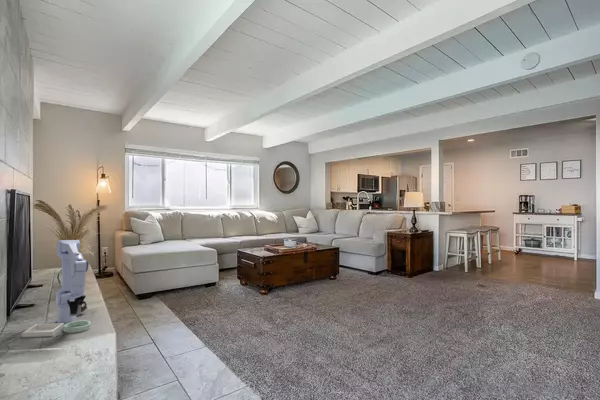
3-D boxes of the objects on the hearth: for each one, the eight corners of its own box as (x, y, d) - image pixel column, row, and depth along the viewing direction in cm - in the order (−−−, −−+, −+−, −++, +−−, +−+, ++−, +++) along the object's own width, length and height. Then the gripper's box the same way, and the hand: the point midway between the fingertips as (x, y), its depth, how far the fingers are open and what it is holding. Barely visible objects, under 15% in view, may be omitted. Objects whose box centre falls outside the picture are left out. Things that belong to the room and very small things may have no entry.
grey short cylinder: (70, 313, 160) (71, 304, 160) (81, 312, 162) (82, 303, 162) (67, 316, 156) (68, 307, 156) (78, 315, 157) (79, 306, 158)
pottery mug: (89, 311, 191) (91, 300, 188) (80, 322, 182) (81, 312, 179) (68, 305, 189) (69, 295, 186) (57, 317, 180) (59, 306, 177)
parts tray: (35, 329, 157) (36, 323, 157) (63, 328, 160) (64, 322, 160) (21, 338, 145) (22, 332, 145) (52, 337, 149) (53, 331, 149)
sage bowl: (69, 326, 163) (69, 320, 163) (93, 325, 166) (94, 320, 166) (59, 334, 152) (60, 328, 152) (85, 333, 155) (86, 327, 155)
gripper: (73, 282, 165) (71, 308, 164) (62, 288, 151) (60, 317, 151) (89, 281, 167) (87, 307, 167) (80, 287, 154) (77, 316, 153)
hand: (75, 312), depth 159 cm, fingers closed on grey short cylinder, 5 cm apart
